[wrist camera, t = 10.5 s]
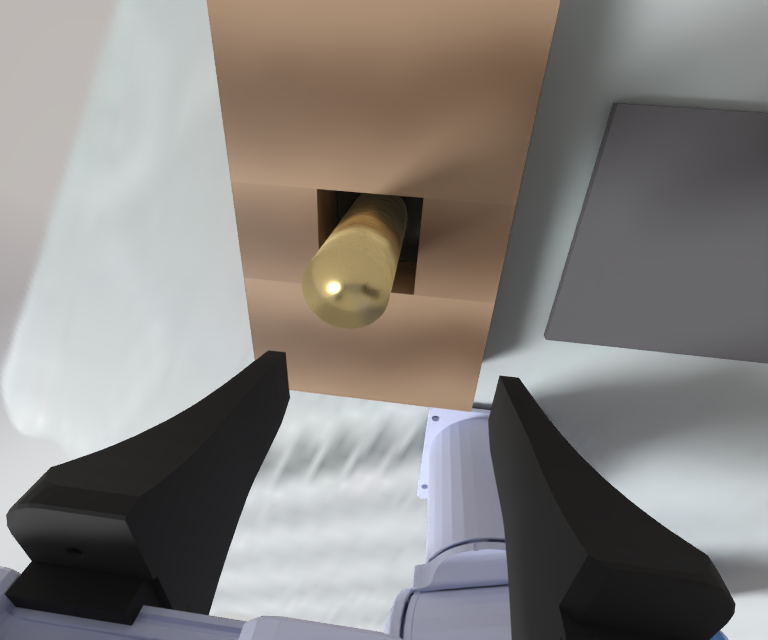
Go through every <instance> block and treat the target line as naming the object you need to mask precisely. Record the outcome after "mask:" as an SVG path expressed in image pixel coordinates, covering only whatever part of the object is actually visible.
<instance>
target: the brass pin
mask: <svg viewBox="0 0 768 640" xmlns="http://www.w3.org/2000/svg"><path fill="white" fill-rule="evenodd" d="M407 221H408V213H407V208H406V206H405V204H404V202H403V200H402V199H401V198H400V197H399V196H396V195H384V194H372V193H362V194H361V195H360V196H359V197H358V198H357V199H356V200H355V202H354V203H353V204H352V206H351V207H350V209H349V210H348V211H347V213H346V214H345V215H344V217H343V218H342V219H341V221H340V222H339V224H338V225H337V226H336V228H335V229H334V230H333V232H332V233H331V234H330V236H329V237H328V238H327V240H326V241H325V243H324V244H323V245H322V247H321V248H320V249H319V251H318V252H317V253H316V255H315V256H314V258H313V259H312V260H311V262H310V263H309V264H308V266H307V268H306V270H305V272H304V275H303V280H302V289H303V294H304V297H305V300H306V302H307V304H308V306H309V307H310V309H311V310H312V311H313V312H314V313H315V314H316V315H317V316H318V317H319V318H320V319H322V320H323V321H325V322H326V323H328V324H330V325H333V326H335V327H339V328H345V329H357V328H362V327H365V326H368V325H370V324H372V323H373V322H375V321H376V320H377V319H379V318H380V317H381V315H382V314H383V313H384V311H385V310H386V308H387V305H388V302H389V298H390V294H391V290H392V286H393V281H394V277H395V273H396V269H397V264H398V260H399V256H400V252H401V247H402V243H403V239H404V235H405V230H406V226H407Z"/></svg>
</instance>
